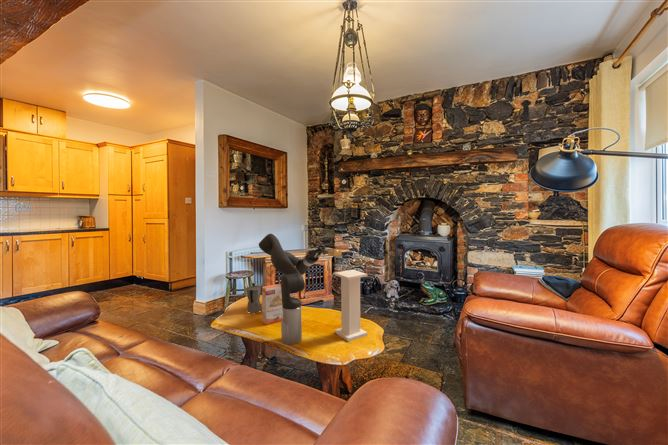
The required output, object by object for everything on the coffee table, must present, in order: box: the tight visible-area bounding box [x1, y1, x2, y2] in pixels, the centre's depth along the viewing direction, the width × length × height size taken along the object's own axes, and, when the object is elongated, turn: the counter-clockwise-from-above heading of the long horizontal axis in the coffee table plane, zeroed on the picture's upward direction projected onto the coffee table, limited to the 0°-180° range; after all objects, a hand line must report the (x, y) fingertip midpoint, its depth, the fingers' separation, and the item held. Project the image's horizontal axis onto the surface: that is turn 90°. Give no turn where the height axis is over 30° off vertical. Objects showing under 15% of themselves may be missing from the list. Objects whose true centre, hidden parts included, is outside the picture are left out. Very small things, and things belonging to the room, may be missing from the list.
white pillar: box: [333, 269, 368, 343], centre depth 148 cm, size 12×12×32 cm
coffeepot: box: [245, 282, 262, 314], centre depth 181 cm, size 15×9×18 cm, turn 6°
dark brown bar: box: [316, 247, 343, 258], centre depth 165 cm, size 5×20×3 cm, turn 33°
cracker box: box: [261, 282, 283, 326], centre depth 166 cm, size 14×6×21 cm, turn 126°
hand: (322, 248), depth 170 cm, fingers closed on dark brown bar, 2 cm apart
